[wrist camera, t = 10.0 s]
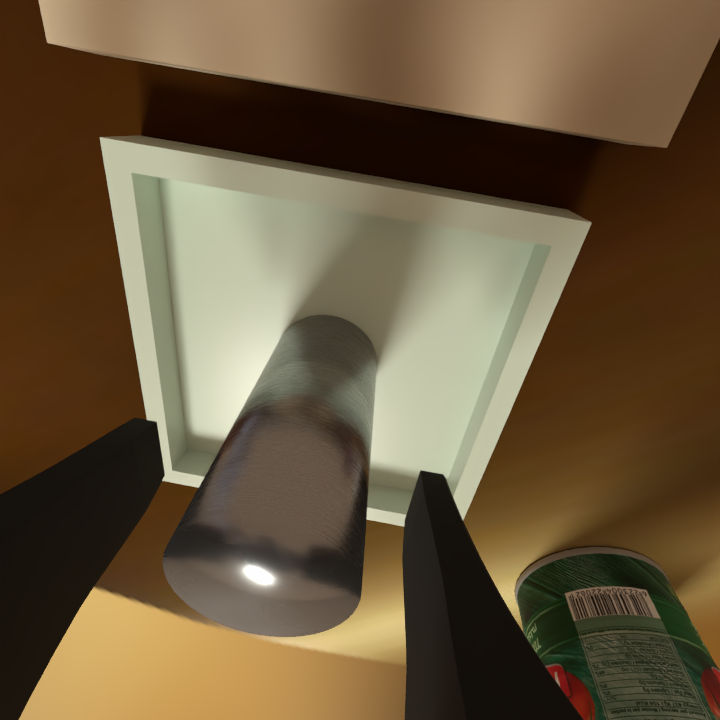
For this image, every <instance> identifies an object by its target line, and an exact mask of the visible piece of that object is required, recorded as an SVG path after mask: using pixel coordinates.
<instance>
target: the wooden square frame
mask: <svg viewBox="0 0 720 720" xmlns="http://www.w3.org/2000/svg"><path fill="white" fill-rule="evenodd" d="M39 5H40V10H41V15H42V20H43V24H44V29H45V34H46V39H47V43H51V44H55V45H59V46H64V47H68V48H73V49H77V50H82V51H86V52H90V53H95V54H99V55H105V56H111V57H117V58H123V59H129V60H135V61H141V62H146V63H152V64H158V65H164V66H170V67H176V68H182V69H188V70H194V71H199V72H205V73H211V74H217V75H223V76H229V77H235V78H241V79H247V80H252V81H258V82H264V83H270V84H276V85H282V86H288V87H294V88H300V89H305V90H311V91H317V92H323V93H329V94H335V95H341V96H347V97H353V98H358V99H364V100H370V101H376V102H382V103H388V104H394V105H400V106H406V107H411V108H417V109H423V110H429V111H435V112H441V113H447V114H453V115H459V116H464V117H470V118H476V119H482V120H488V121H494V122H500V123H506V124H512V125H517V126H523V127H529V128H535V129H541V130H547V131H553V132H559V133H565V134H570V135H576V136H582V137H588V138H594V139H600V140H606V141H612V142H618V143H623V144H629V145H640V146H651V147H663V148H667V147H668V144H669V142H670V140H671V138H672V136H673V134H674V132H675V130H676V128H677V126H678V124H679V122H680V119H681V117H682V115H683V113H684V111H685V109H686V107H687V105H688V103H689V101H690V99H691V97H692V95H693V92H694V90H695V88H696V86H697V84H698V82H699V80H700V78H701V76H702V74H703V72H704V70H705V68H706V65H707V63H708V61H709V59H710V57H711V55H712V53H713V51H714V49H715V47H716V45H717V43H718V41H719V38H720V0H39Z"/></svg>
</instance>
